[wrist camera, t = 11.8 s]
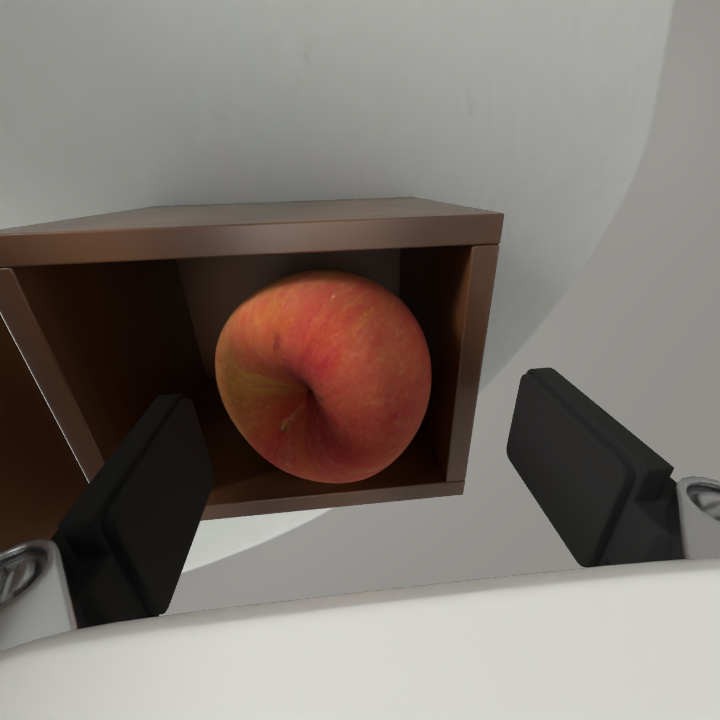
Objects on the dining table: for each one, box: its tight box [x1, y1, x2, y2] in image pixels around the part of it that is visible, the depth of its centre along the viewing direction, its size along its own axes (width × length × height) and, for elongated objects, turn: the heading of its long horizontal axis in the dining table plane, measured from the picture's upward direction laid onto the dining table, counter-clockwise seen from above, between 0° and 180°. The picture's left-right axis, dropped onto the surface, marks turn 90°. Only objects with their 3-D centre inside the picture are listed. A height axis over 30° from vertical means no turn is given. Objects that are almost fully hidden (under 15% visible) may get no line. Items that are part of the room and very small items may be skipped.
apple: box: [215, 270, 432, 483], centre depth 13 cm, size 7×7×8 cm
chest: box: [0, 197, 504, 521], centre depth 16 cm, size 14×11×11 cm
